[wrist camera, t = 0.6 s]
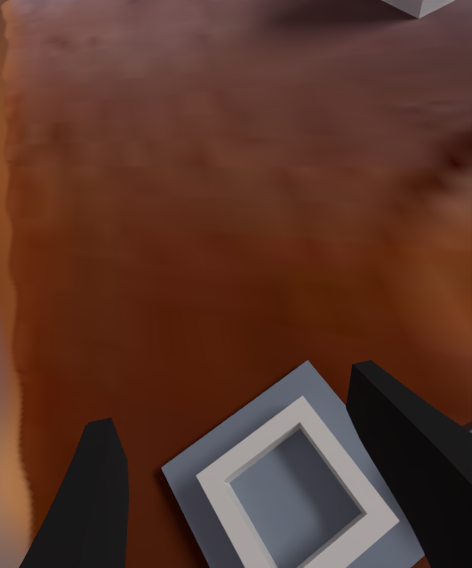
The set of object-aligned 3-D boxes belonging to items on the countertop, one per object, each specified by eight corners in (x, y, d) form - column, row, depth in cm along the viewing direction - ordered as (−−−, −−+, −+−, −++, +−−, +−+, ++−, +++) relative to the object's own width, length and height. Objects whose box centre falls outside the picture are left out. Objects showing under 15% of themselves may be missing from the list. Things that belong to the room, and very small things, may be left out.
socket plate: (444, 531, 23) (465, 535, 20) (272, 685, 21) (267, 715, 18) (307, 364, 29) (307, 348, 26) (165, 468, 27) (148, 464, 24)
